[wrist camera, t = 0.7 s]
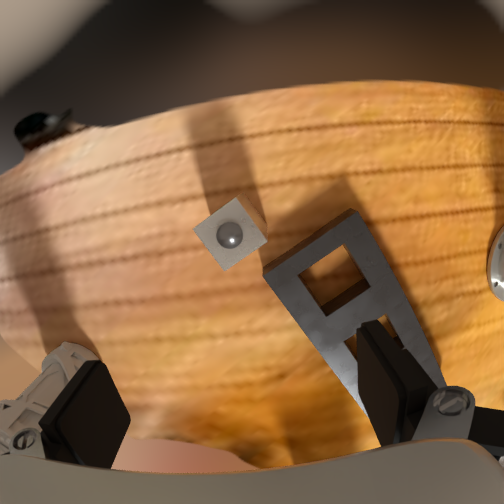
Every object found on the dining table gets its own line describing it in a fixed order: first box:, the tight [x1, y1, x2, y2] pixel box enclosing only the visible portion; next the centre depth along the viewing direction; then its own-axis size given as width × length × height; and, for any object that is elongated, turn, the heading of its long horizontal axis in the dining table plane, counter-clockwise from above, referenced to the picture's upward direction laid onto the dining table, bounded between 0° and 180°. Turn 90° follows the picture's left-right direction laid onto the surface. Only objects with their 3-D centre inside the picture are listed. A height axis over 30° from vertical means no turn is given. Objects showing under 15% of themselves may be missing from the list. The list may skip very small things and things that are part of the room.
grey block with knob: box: [193, 192, 268, 271], centre depth 31 cm, size 4×4×9 cm
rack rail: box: [263, 208, 447, 418], centre depth 36 cm, size 12×30×3 cm, turn 36°
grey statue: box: [0, 341, 99, 455], centre depth 30 cm, size 13×10×25 cm
